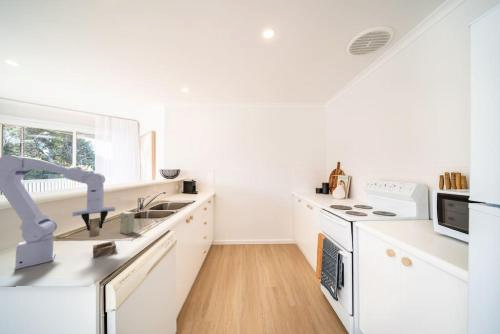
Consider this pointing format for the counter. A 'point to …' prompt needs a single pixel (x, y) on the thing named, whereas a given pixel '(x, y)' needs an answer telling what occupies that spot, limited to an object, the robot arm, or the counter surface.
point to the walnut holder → (104, 249)
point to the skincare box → (127, 222)
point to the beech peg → (94, 227)
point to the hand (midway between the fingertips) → (94, 229)
